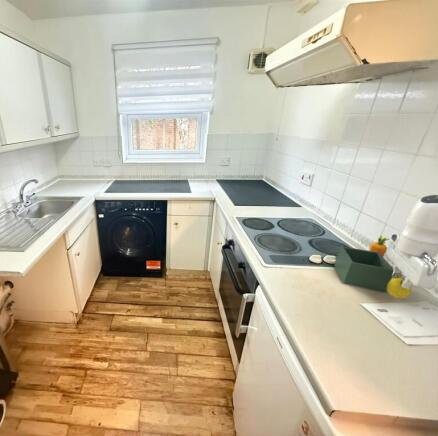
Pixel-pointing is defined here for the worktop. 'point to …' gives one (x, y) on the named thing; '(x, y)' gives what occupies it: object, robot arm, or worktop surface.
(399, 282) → the lemon
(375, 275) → the bin
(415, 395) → the worktop surface
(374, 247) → the carrot
